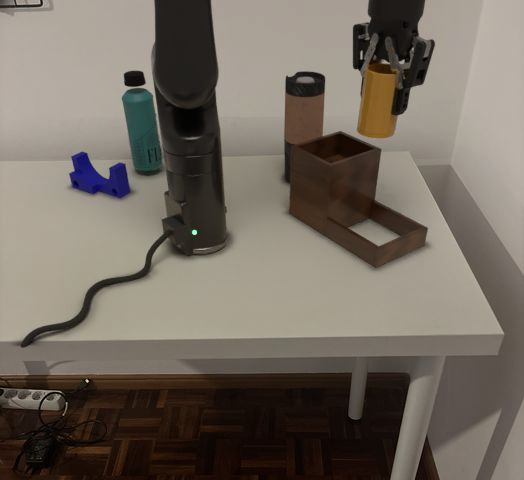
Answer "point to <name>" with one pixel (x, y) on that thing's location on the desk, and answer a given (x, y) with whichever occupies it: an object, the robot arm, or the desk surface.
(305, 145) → the organizer
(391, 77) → the cup
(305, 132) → the travel mug
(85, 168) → the blue curved bracket
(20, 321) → the desk surface
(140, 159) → the beverage bottle
